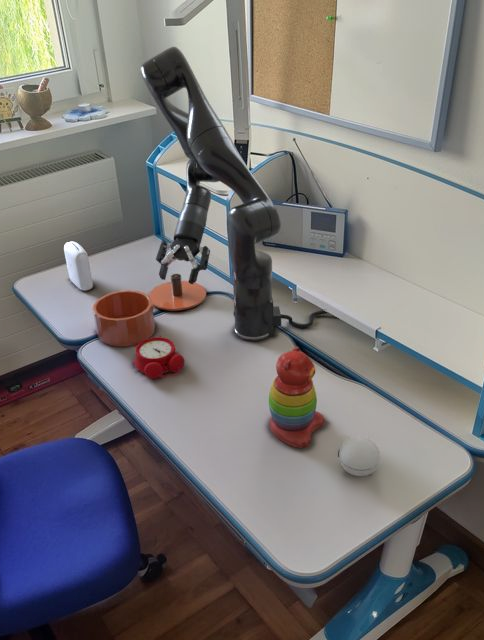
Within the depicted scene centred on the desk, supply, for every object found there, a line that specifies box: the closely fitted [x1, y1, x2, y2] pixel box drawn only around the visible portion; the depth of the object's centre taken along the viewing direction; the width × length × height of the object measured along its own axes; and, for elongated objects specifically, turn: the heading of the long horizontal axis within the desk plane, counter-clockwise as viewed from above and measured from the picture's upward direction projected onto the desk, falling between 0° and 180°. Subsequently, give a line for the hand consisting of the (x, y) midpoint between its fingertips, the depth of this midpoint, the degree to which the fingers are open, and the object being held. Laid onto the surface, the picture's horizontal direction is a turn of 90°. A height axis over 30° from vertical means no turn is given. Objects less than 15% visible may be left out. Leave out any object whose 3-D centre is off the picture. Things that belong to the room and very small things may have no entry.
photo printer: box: [63, 240, 94, 291], centre depth 186 cm, size 10×4×12 cm, turn 32°
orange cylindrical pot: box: [92, 289, 156, 347], centre depth 165 cm, size 15×15×8 cm
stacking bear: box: [268, 346, 326, 449], centre depth 128 cm, size 11×10×18 cm
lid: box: [148, 273, 207, 312], centre depth 178 cm, size 16×16×7 cm
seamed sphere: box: [337, 435, 381, 477], centre depth 119 cm, size 10×7×7 cm
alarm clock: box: [131, 334, 185, 380], centre depth 152 cm, size 10×6×15 cm
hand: (176, 281), depth 176 cm, fingers open, 8 cm apart
